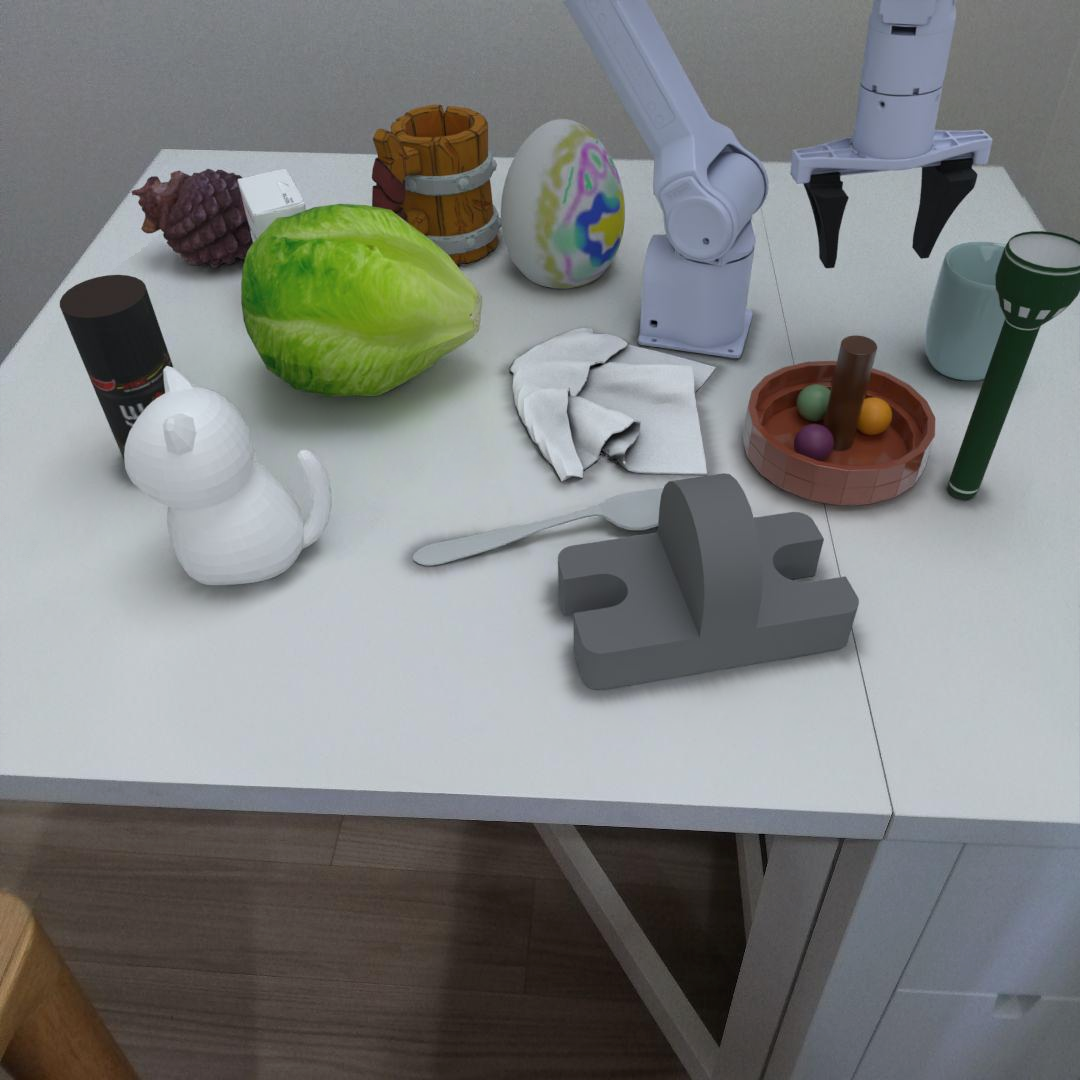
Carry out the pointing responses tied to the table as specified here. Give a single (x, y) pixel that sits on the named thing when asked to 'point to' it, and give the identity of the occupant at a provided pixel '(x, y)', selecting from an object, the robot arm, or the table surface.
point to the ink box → (269, 199)
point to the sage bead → (813, 402)
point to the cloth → (610, 404)
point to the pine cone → (198, 215)
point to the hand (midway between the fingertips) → (873, 257)
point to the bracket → (701, 590)
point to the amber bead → (874, 416)
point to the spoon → (620, 510)
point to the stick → (849, 389)
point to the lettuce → (353, 300)
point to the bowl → (844, 475)
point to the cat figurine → (220, 487)
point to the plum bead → (814, 442)
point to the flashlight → (1015, 339)
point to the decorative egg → (562, 206)
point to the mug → (440, 178)
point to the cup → (965, 312)
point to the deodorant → (118, 346)
